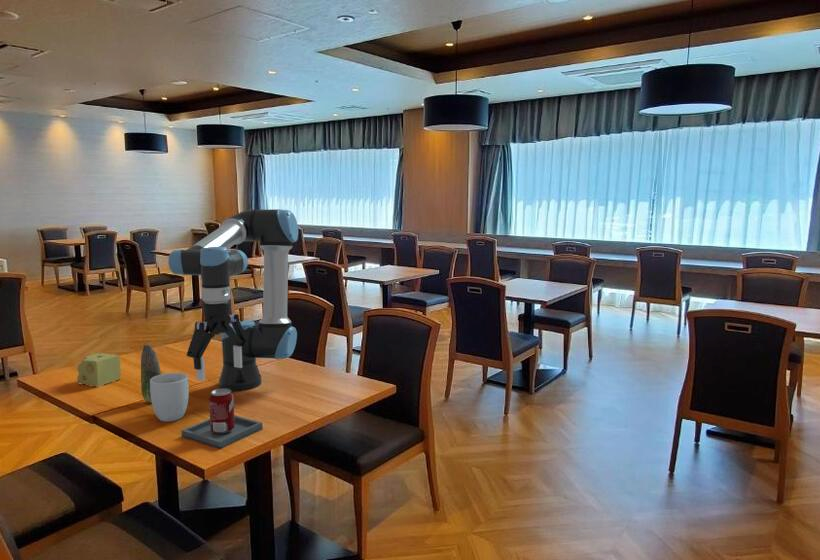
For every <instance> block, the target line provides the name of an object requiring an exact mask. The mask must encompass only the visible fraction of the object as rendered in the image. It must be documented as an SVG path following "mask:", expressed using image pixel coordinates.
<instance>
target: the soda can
mask: <svg viewBox="0 0 820 560" xmlns="http://www.w3.org/2000/svg"><path fill="white" fill-rule="evenodd" d="M234 403H235V401H234V395H233V394H232V390H230V389H221V388H218V389H217V388H216V389H213V390H212V391H211V392H210V396H209V397H208V404H209V407H208V408H209V419H210V430H211V432H213V433H215V434H226V433H229V432H230V431H232V430H233V429H234V428H235V423H234V415H235V405H234Z"/></svg>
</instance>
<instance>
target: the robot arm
mask: <svg viewBox="0 0 820 560" xmlns="http://www.w3.org/2000/svg"><path fill="white" fill-rule="evenodd" d="M298 238H299V225H298V221H297V219H296V216H295V213H293V211H291V210H288V209H280V208H279V209H275V208H274V209H272V208H271V209H256V208H255V209H247V210H243V211H241V212H238V213H235V214H233V215H231V216H230V217H228V218H225V220H223V221H222V223H221V224H220V225H219V227H218V228H216V229H215V230H214V231H212V232H211V233H209V234H208V235H207V236H205V237H204V238H202V239H200V240H199V241H197V242H196V243H194V244H193V245H192V246H190V247H188V248H187V249H181V248H180V249H175V250H173V251H171V252H170V254H169V256H168V261H167V264H168V267H169V270H170V272H171V273H172V274H174V275H182V276H201V295H202V296H201V298H202V301H203V303H202V313H203V316H204V321H196V322H195V323H194V330H193V331H194V332H193V334H192V337H191V340H190V343H189V346H188V350H187V352H186V356H187V357H188V358H193V359H192V360H193V368H194V370H195V374H196V376H195V377H196V380H197V381H202V382H205V381H206V368H205V366H206V363H205V357H203V355H204V353H205V351H206V349H207V348H208V346H209V344H210V342H211V340H212V338H214V337H215V336H216V335H220V334H221V338H220V339H221V346H222V347H221V350H222V368H221V371H220V372H221V373H220V377H219V378H218V388H219V389H230V390H231V392H233V391H244V390H250V389H253V388H257V387H259V386H260V385H261V384H262V375H261V374H260V370H259V367H258V363H257V361H256V360H257V359H275V360H281V359H283V360H284V359H288V358H290V357H291V356H292V355H293V353H294V350H295V348H296V344H297V340H298V339H297V338H298V332H297V329H296V327H294V326H292V321H291V319H290V318H289V317H288V293H289V292H288V289H289V287H288V283H289V282H288V280H289V278H288V277H289V251H291V250H292V248H293V243H295V242H297V241H298ZM244 242H259V248H260V249H262V251H263V284H262V285H263V290H262V291H263V296H262V297H263V298H262V300H263V301H262V318H261V319H260V320H259V321H258V325H256V323H255V321H252V320H243V321H240V315H239V314H238V313H232V306H231V305H232V302H231V301H230V299H231V286H230V285H231V284H230V283H231V282H230V277H233V276H238V275H240V274H242V273H243V272H245V271H246V270H247V267H248V266H249V265H248V264H249V259H248V256H247V254H245V252H243V251H242V250H240V249H231V248H232V247H234V245H236V246H237V245H240V244H242V243H244Z"/></svg>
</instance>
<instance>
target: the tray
mask: <svg viewBox="0 0 820 560" xmlns="http://www.w3.org/2000/svg"><path fill="white" fill-rule="evenodd" d="M234 423H235V428H234V429H233V430H232V431H230V432H229V433H226V434H215V433H213V432H211V430H210V418H208V419H205V420H203V421H201V422H198V423H196V424H193V425H190V426H188V427H185V428H184V429H181V431H180V432H181V438H185V439H188V440H190V441H194V442H197V443H200V444H203V445H206V446H208V447H209V446H210V447H212V448H215V449H219V450H222V449H223V448H226V447H228V446H230V445H232V444H234V443H237V442H239V441H240V440H242V439H245V438H247V437H249V436H250V435H253V434H255V433H257V432H259V431H262V430H263V422H261V421H257V420H254V419H251V418H246V417H243V416H239V415H235V414H234Z"/></svg>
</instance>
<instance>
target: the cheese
mask: <svg viewBox="0 0 820 560" xmlns="http://www.w3.org/2000/svg"><path fill="white" fill-rule="evenodd" d="M121 370H122V369H121V359H120V357H119V355H117V354H113V353H112V354H111V353H105V352H97V353H92V354H90V355H86V356H85V357H84V358H83V360H81V362H80V363H78V365H77V373H78V375H77V376H76V377H77V379H76V380H77V384H78V383H81V384H87V385H92V386H97V387H98V386H101V385H104V384H106V385H108V384H107V383H109V384H111V383H110V382H112V383H114V382H113V381H115V382H117V381H116V380H118V381H120V380H121V376H122V375H121V374H122V373H121V372H122V371H121ZM119 379H120V380H119ZM87 385H86V386H87ZM92 386H91V387H92ZM104 386H105V385H104ZM97 387H96V388H97ZM101 387H102V386H101ZM98 388H99V387H98Z"/></svg>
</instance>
